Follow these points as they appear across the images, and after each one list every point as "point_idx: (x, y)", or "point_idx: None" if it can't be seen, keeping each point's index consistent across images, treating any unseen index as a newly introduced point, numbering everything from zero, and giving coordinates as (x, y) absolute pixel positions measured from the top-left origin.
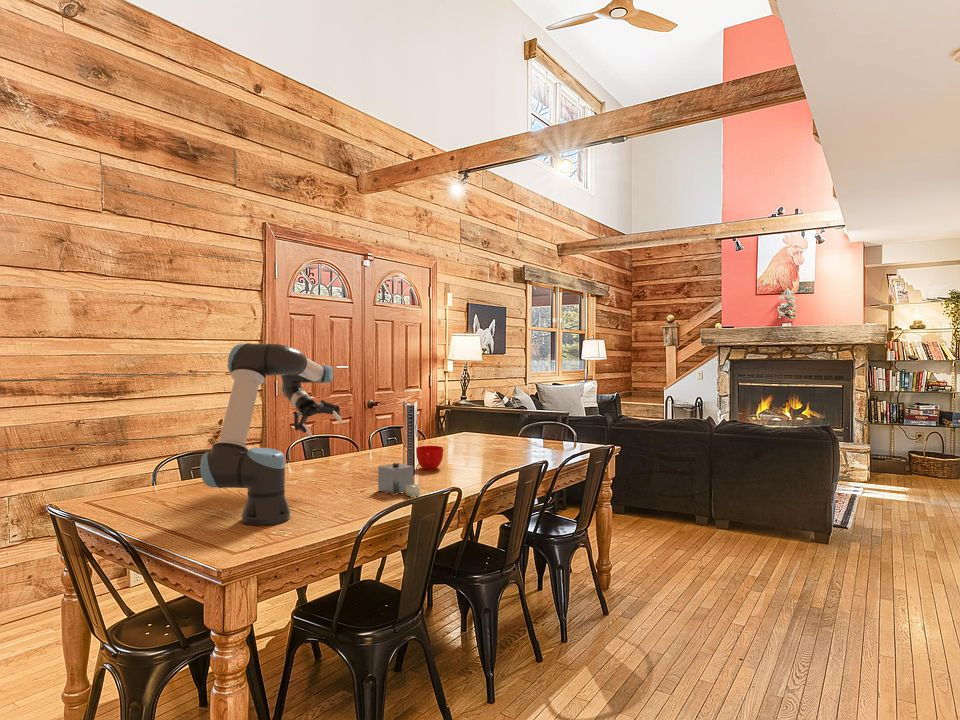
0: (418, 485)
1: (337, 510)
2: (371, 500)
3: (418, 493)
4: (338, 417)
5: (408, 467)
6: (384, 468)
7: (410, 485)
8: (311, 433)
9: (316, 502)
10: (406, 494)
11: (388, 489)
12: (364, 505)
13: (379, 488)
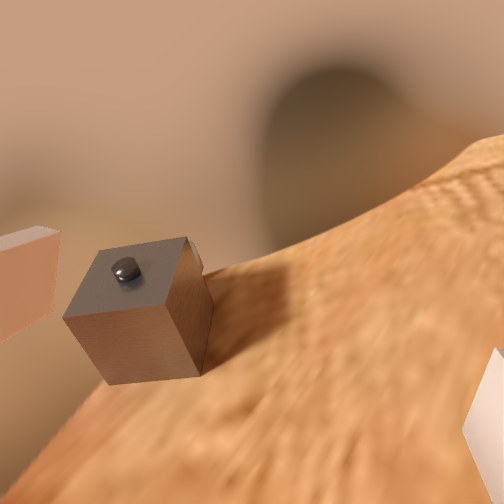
0: None
1: (455, 246)
2: (306, 288)
3: None
4: (33, 248)
5: (121, 247)
6: (176, 275)
7: None
8: (482, 381)
9: None
10: (201, 270)
11: (205, 313)
12: (356, 256)
13: (198, 362)
